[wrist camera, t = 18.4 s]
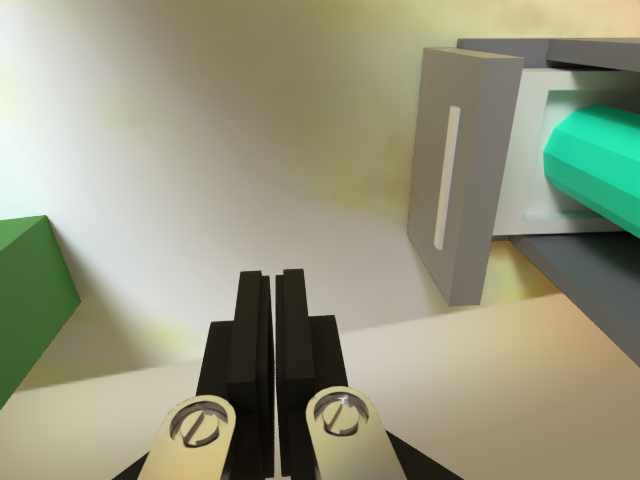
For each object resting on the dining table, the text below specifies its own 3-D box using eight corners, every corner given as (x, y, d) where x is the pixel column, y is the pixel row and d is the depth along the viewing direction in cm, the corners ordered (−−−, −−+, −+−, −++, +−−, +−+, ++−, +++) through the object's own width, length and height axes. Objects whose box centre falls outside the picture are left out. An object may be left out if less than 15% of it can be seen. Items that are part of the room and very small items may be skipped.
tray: (403, 233, 34) (444, 306, 25) (419, 47, 28) (479, 58, 20) (640, 226, 35) (757, 293, 26) (701, 46, 29) (877, 55, 21)
